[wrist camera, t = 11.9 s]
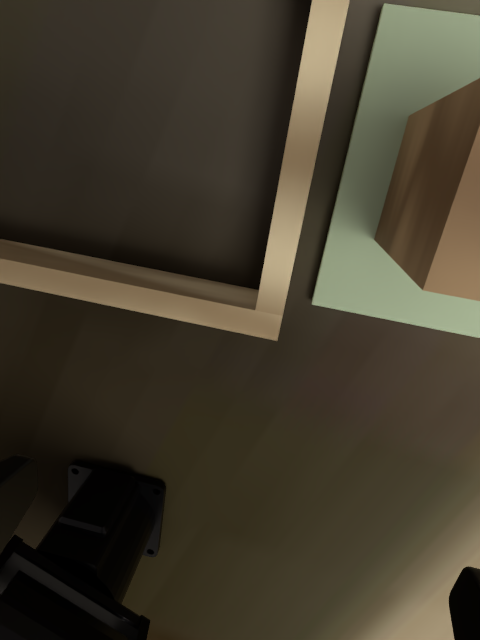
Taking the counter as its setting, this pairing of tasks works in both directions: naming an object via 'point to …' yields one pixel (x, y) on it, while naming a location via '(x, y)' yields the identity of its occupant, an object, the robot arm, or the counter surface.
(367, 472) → the counter surface
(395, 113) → the mat
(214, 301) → the beige flat rectangular frame
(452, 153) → the walnut block
